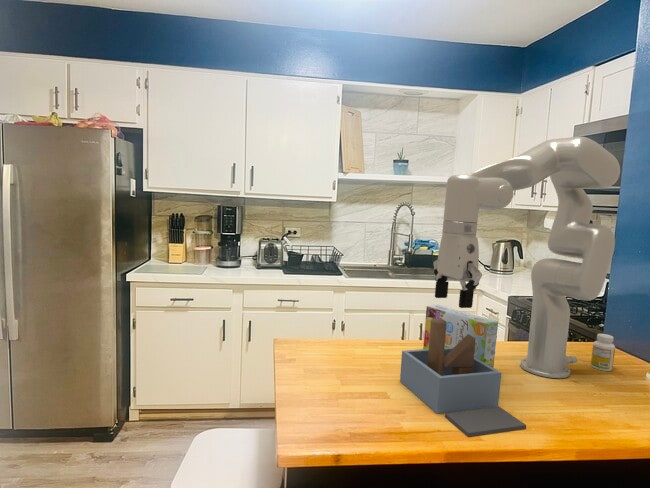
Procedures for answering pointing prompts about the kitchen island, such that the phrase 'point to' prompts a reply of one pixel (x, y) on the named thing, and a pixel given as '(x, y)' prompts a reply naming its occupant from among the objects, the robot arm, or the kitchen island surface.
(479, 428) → the place mat
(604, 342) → the supplement bottle
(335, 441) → the kitchen island surface
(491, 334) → the snack box
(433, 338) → the brown piece
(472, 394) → the box
